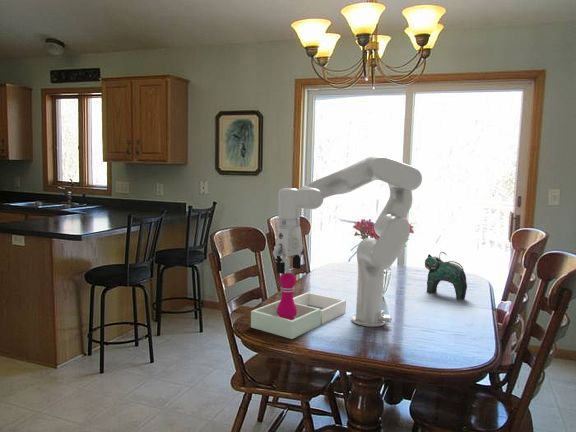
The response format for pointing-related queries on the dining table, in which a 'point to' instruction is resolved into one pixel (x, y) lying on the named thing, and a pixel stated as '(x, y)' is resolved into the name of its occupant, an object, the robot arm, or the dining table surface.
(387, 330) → the dining table surface
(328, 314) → the crate
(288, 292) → the pepper mill
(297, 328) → the bin
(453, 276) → the ceramic cat
